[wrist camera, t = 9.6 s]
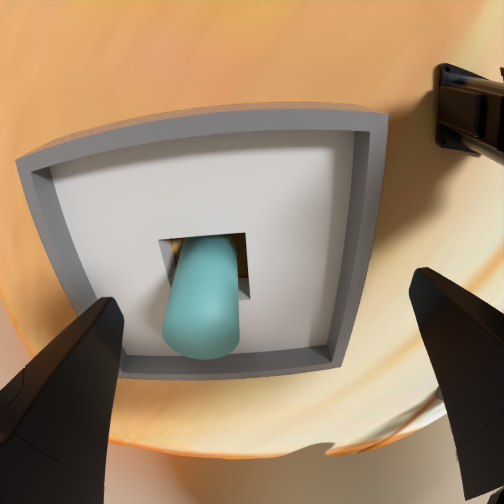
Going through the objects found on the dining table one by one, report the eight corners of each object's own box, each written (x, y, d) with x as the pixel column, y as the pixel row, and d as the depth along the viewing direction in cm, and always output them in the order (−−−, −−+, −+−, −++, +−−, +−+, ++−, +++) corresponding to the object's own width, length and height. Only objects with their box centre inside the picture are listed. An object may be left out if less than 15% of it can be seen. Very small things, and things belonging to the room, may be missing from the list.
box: (354, 104, 15) (388, 114, 12) (329, 329, 26) (340, 367, 23) (53, 140, 15) (15, 160, 11) (127, 341, 26) (117, 377, 22)
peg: (234, 224, 20) (236, 307, 13) (239, 270, 22) (242, 357, 15) (177, 229, 20) (152, 311, 13) (187, 274, 22) (172, 360, 15)
